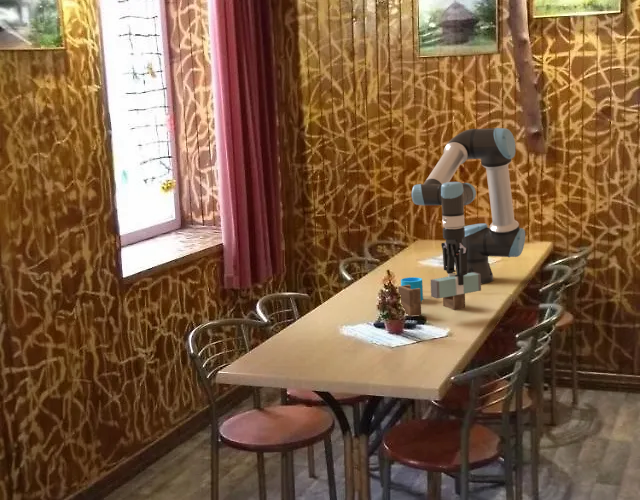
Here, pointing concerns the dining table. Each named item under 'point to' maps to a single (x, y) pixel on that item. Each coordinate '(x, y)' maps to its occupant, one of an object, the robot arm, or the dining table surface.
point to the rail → (448, 285)
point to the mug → (413, 283)
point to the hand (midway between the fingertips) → (456, 292)
